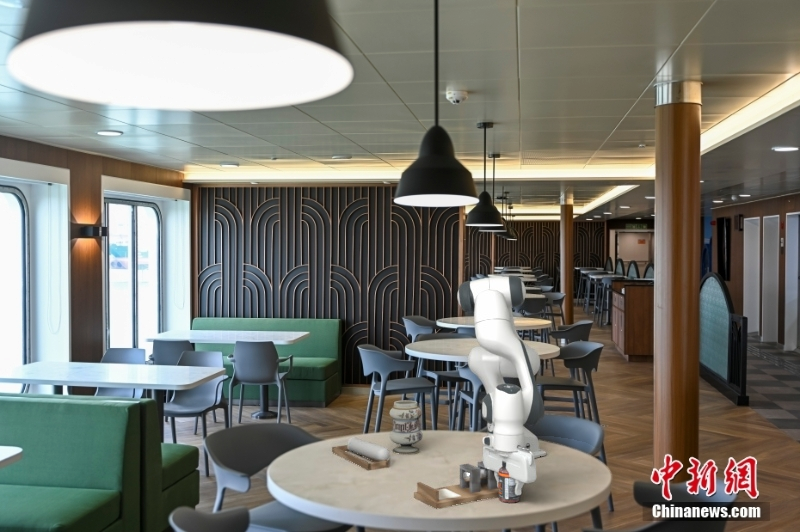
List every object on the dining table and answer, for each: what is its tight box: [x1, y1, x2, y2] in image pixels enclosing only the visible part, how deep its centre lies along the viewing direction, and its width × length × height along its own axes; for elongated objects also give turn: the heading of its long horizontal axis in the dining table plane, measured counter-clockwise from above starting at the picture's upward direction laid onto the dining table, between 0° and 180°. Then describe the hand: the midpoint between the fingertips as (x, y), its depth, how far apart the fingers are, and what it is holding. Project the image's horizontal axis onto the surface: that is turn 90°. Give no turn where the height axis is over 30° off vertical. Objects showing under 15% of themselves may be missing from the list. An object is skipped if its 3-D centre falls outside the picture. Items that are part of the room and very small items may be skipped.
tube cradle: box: [331, 444, 390, 471], centre depth 256 cm, size 8×28×2 cm, turn 30°
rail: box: [413, 460, 523, 510], centre depth 214 cm, size 30×12×8 cm, turn 120°
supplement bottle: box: [498, 461, 521, 504], centre depth 209 cm, size 6×6×11 cm
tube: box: [346, 436, 391, 461], centre depth 257 cm, size 5×5×25 cm
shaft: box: [463, 468, 488, 482], centre depth 217 cm, size 15×6×6 cm, turn 120°
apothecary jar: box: [389, 399, 423, 455], centre depth 267 cm, size 12×12×18 cm
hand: (509, 491), depth 209 cm, fingers closed on supplement bottle, 6 cm apart
